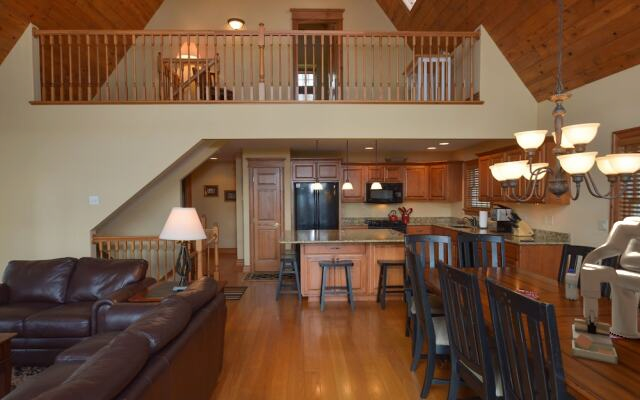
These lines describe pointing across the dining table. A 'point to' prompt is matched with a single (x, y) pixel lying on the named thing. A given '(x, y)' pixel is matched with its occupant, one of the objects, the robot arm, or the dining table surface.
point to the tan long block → (600, 327)
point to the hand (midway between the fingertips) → (591, 331)
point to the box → (595, 353)
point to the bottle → (571, 285)
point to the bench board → (593, 337)
